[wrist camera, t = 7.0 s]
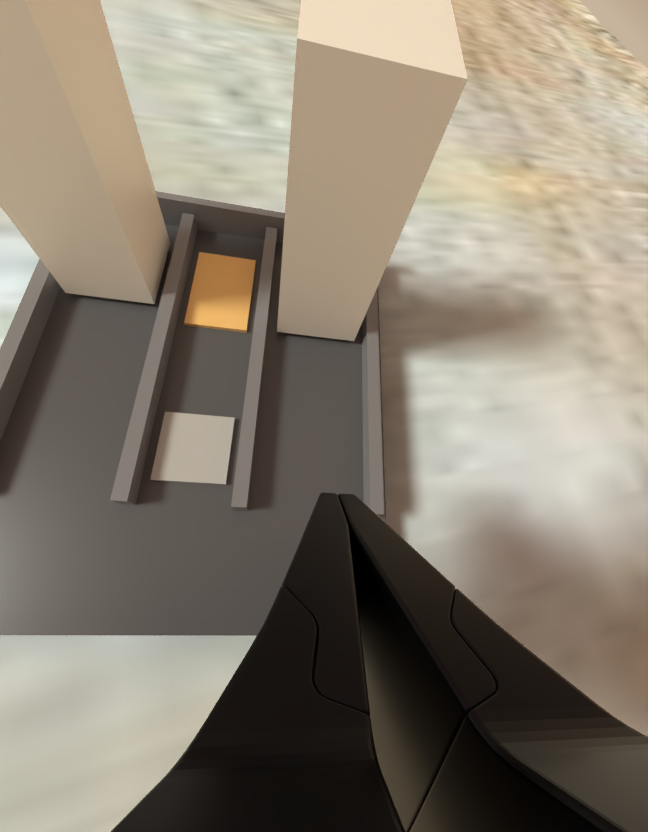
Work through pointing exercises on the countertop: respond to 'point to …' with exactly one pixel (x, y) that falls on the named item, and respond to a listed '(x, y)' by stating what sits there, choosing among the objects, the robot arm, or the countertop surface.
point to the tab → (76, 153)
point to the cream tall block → (359, 149)
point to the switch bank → (175, 439)
